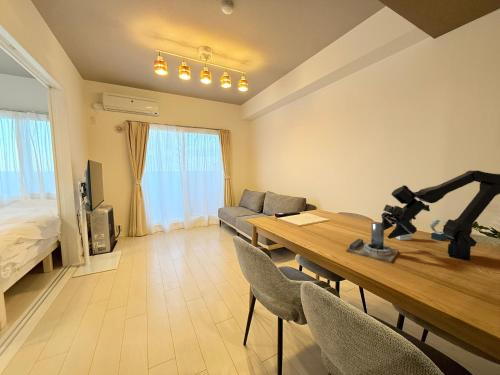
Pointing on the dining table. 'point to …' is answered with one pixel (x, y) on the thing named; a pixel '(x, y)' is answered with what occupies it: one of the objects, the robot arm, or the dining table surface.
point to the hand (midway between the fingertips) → (383, 234)
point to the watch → (436, 234)
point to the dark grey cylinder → (377, 236)
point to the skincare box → (405, 237)
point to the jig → (372, 251)
